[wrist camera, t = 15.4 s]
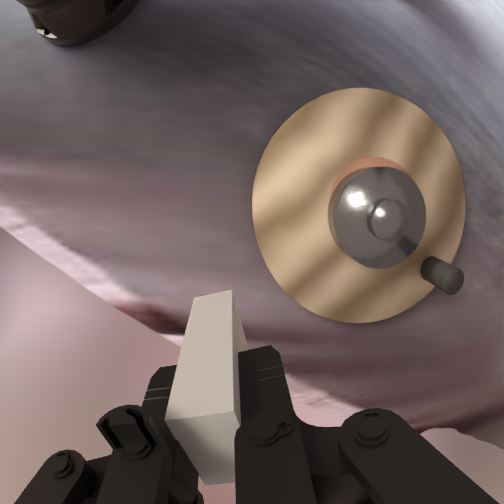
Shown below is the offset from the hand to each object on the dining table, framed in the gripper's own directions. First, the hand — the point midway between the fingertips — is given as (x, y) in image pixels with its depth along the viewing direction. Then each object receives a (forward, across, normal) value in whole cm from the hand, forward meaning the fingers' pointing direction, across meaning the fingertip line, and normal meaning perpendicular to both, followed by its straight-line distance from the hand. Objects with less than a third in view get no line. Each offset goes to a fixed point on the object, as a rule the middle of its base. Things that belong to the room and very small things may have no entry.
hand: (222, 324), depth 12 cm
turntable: (+21, +15, -1) cm, 26 cm away
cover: (+19, +15, -2) cm, 25 cm away
